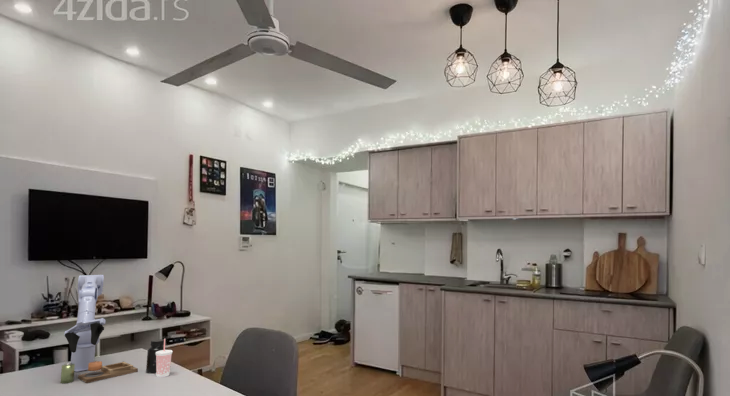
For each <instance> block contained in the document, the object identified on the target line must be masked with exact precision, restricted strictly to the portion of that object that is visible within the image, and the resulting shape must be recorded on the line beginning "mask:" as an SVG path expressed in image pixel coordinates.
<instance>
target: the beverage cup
mask: <svg viewBox="0 0 730 396" xmlns="http://www.w3.org/2000/svg"><path fill="white" fill-rule="evenodd" d="M163 340H164V345H163V346H164V350H160V351H157V352H156V373H155V376H156V377H157V378H165V377H168V376H170V372H171V363H172V354H173V352H174V351H173V350H172V349H166V350H165V348H166V338H164V339H163Z"/></svg>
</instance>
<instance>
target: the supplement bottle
mask: <svg viewBox="0 0 730 396" xmlns="http://www.w3.org/2000/svg"><path fill="white" fill-rule="evenodd" d="M160 350H164V339H162V338H161V339H160V338H158V339H152V340H151V341H150V347H149V348H148V349H147V354H146V365H145V366H146V367H145V368H146V369H145V371H146V373H148V374H156V352H157V351H160ZM165 350H167V347H165Z"/></svg>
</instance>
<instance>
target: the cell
mask: <svg viewBox="0 0 730 396" xmlns="http://www.w3.org/2000/svg"><path fill="white" fill-rule="evenodd" d="M74 369H75V364H71V362H66V363H65V364H63V365H61V373H60V384H62V385H63V384H71V383H72V382H74V379H75V371H74Z"/></svg>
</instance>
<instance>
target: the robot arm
mask: <svg viewBox="0 0 730 396" xmlns="http://www.w3.org/2000/svg"><path fill="white" fill-rule="evenodd" d="M104 277H105V275H104V274H91V275H90V274H86V275H85V274H83V275H82V274H80V275H79V276H78V279H77V294H78V297H77V298H78V299H77V301H78V304H77V305H78V310H77V319H76V324H75V325H74V326H72V327H71V328H69V329H67V330H65V331H64V334H63V336H64V337H65V338H66V340H67V342H68V346H69V351H70V352H71V354H70V355H71V356H70V363H71V364H75V369H74V373H78V372H83V371H88V364H89V363H90V362H95V359H96V358H95V355H96V346H97V345H98V344H99V343H100V336H101V334H102V333H103V331H104V330H105V327H104V325H106V319H105V318H104V317H101V318H96V306H97V305H96V304H97V302H98V299H99V298H98V297H100V296H101V295H102V294H103V291H104V290H103V289H104V281H105V278H104Z"/></svg>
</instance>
